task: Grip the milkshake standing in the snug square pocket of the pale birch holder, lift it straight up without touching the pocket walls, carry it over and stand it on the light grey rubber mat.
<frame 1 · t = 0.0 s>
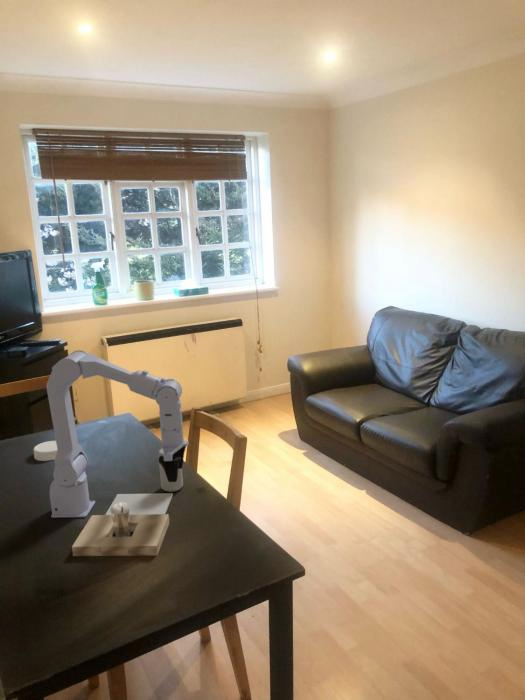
hand: (175, 474, 146), 10 cm above the table, tool pointing down, fingers open, 7 cm apart
white ridged disc: (50, 456, 186), on the table
grey mat: (139, 505, 150), on the table
pocket holder: (123, 538, 135), on the table
beverage can: (172, 488, 160), on the table
milkshake: (123, 539, 135), on the table
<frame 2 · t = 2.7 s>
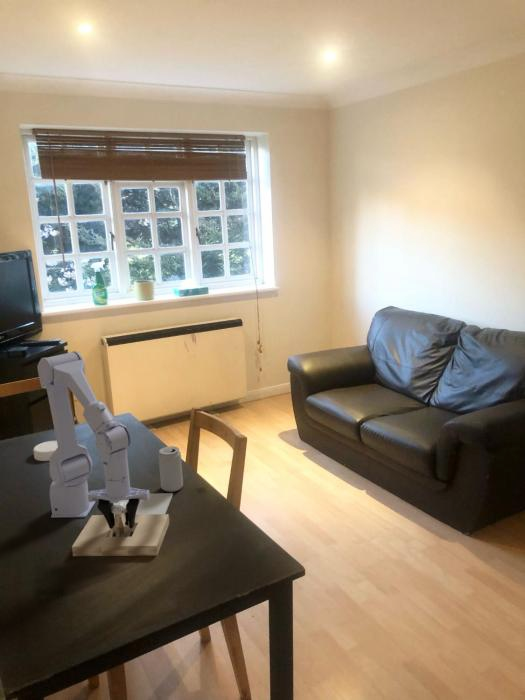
hand: (122, 526, 134), 3 cm above the table, tool pointing down, fingers closed on milkshake, 4 cm apart
milkshake: (123, 539, 135), on the table, touching gripper
everything else where it was.
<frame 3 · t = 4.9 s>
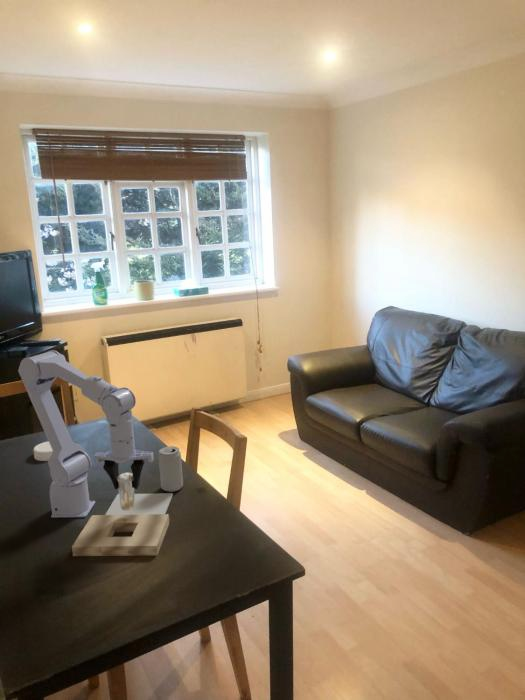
hand: (127, 487, 139), 10 cm above the table, tool pointing down, fingers closed on milkshake, 4 cm apart
milkshake: (127, 509, 140), point 5 cm above the table, touching gripper
everything else where it was.
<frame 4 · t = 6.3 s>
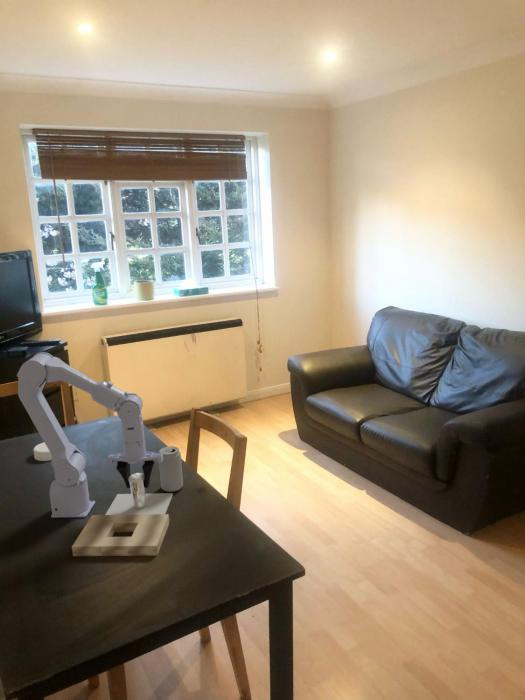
hand: (138, 486, 149), 6 cm above the table, tool pointing down, fingers closed on milkshake, 4 cm apart
milkshake: (140, 507, 149), on the table, touching grey mat, gripper
everything else where it was.
when the fingers open (5 cm above the table, at t = 7.3 s): milkshake stays where it is, resting on grey mat.
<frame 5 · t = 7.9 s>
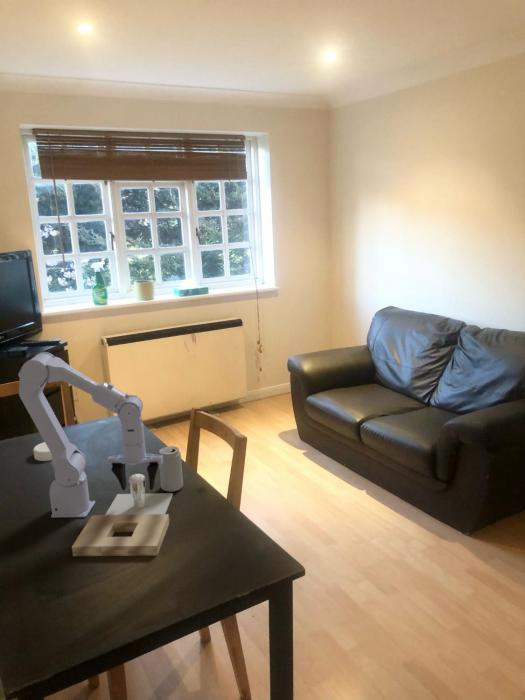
hand: (138, 488, 149), 5 cm above the table, tool pointing down, fingers open, 7 cm apart
milkshake: (140, 507, 149), resting on grey mat
everything else where it was.
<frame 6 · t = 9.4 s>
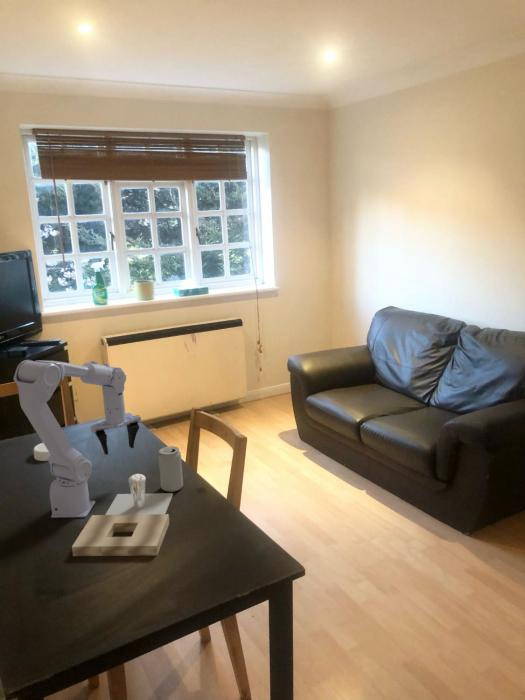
hand: (118, 450, 162), 10 cm above the table, tool pointing down, fingers open, 7 cm apart
nothing on the table moved.
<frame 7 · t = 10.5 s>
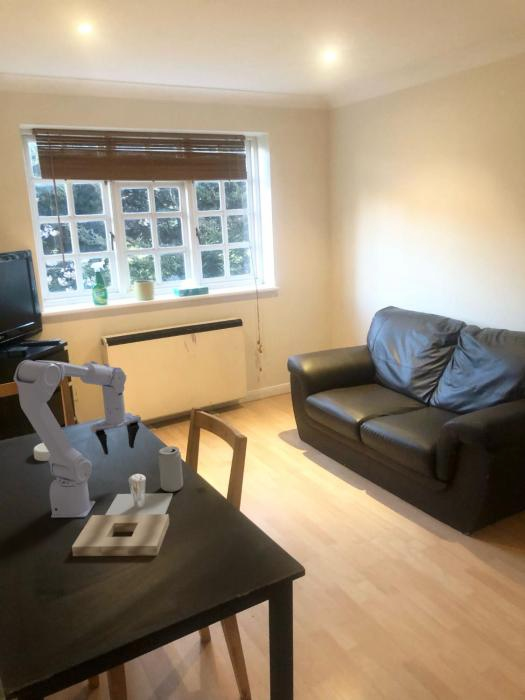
hand: (118, 450, 162), 10 cm above the table, tool pointing down, fingers open, 7 cm apart
nothing on the table moved.
at the end: milkshake inside the target area on the grey mat (1.5 cm from its centre), point 0.2 cm above the grey mat's base; milkshake tilted 0°; the gripper is holding nothing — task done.
